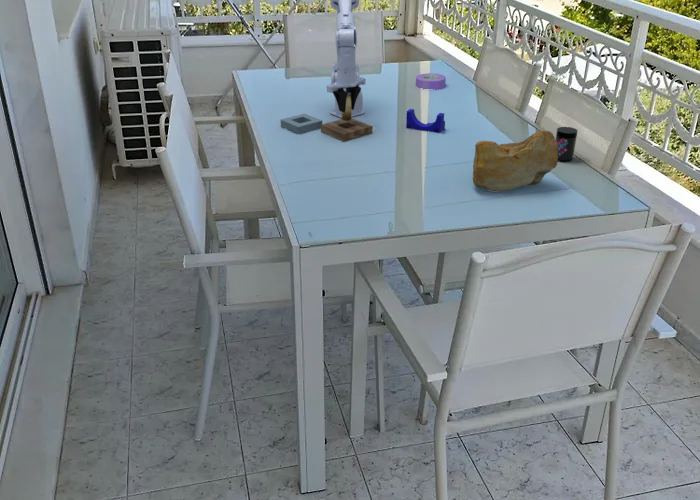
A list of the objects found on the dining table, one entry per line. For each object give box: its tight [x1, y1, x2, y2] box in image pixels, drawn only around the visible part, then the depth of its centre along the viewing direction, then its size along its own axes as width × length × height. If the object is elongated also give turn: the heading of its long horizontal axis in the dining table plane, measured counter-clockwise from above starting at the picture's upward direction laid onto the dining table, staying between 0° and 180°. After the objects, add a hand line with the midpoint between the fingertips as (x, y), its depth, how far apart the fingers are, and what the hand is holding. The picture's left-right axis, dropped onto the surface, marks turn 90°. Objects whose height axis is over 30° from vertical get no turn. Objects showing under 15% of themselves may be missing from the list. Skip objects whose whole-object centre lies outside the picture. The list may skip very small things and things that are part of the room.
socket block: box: [320, 118, 373, 142], centre depth 230 cm, size 12×12×2 cm
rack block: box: [279, 113, 323, 135], centre depth 235 cm, size 10×10×2 cm
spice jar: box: [341, 91, 353, 121], centre depth 226 cm, size 3×3×9 cm
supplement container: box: [555, 126, 578, 163], centre depth 207 cm, size 6×6×9 cm
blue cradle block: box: [405, 108, 446, 134], centre depth 233 cm, size 12×4×6 cm, turn 65°
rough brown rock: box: [472, 130, 559, 193], centre depth 192 cm, size 23×17×15 cm
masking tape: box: [415, 72, 447, 91], centre depth 278 cm, size 12×12×4 cm
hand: (346, 110), depth 227 cm, fingers closed on spice jar, 3 cm apart
